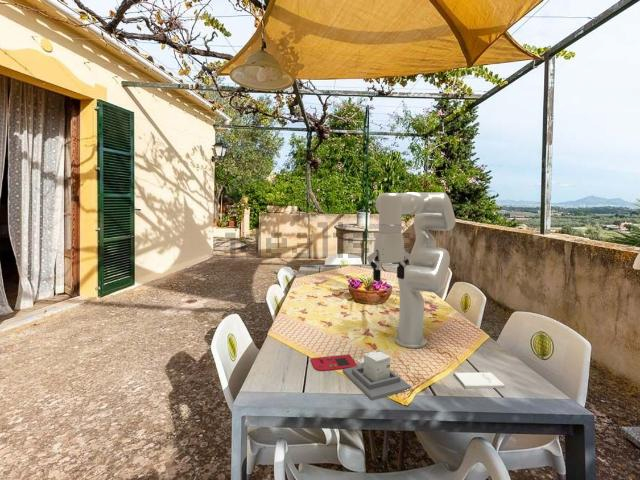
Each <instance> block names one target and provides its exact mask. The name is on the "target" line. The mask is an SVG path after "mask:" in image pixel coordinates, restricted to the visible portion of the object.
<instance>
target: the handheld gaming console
mask: <svg viewBox="0 0 640 480" xmlns="http://www.w3.org/2000/svg"><path fill="white" fill-rule="evenodd" d="M310 363H311V365H312V367H313V369H314V370H315V371H317V372H330V371H337V370H338V371H339V370H343V369H347V368H351V367H356V366H357V362H356V361H355V360H354V358H353V357H352V356H351V355H350V354H341V355H340V354H339V355H329V356H319V357H311V358H310Z"/></svg>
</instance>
